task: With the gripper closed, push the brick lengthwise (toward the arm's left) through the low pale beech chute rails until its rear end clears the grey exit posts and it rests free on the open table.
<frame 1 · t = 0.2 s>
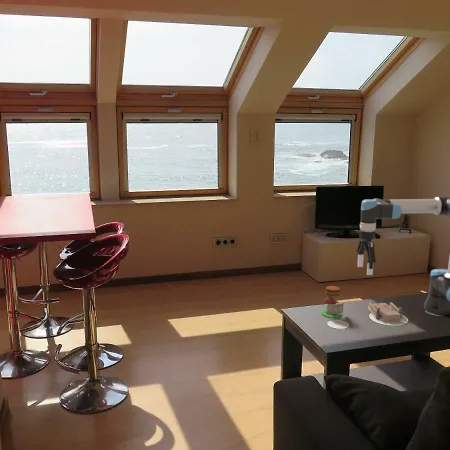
hand: (364, 270, 254), 28 cm above the table, fingers open, 13 cm apart
brick: (385, 316, 267), on the table
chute: (383, 313, 269), on the table
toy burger: (331, 314, 268), on the table
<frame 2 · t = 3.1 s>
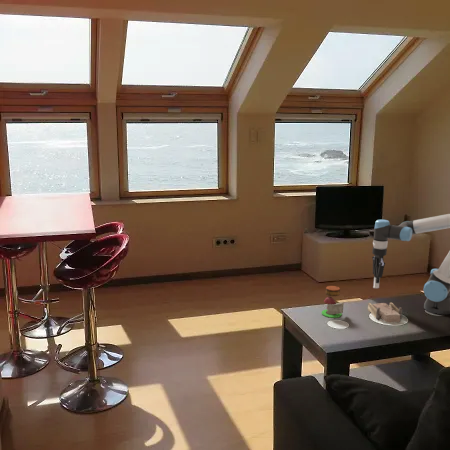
hand: (376, 287, 279), 11 cm above the table, fingers closed
nothing on the table moved.
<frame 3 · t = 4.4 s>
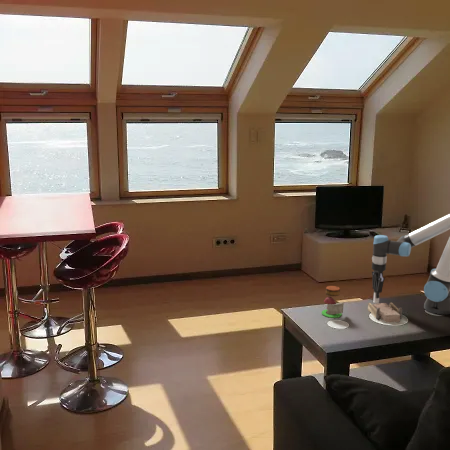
hand: (376, 302, 280), 2 cm above the table, fingers closed
nothing on the table moved.
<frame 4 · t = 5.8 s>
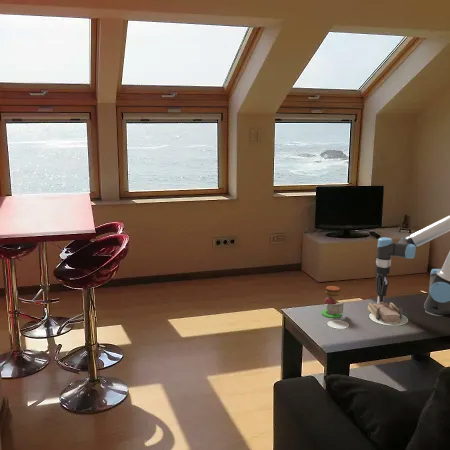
hand: (379, 306, 275), 2 cm above the table, fingers closed
brick: (385, 316, 266), on the table, touching gripper
everything else where it was.
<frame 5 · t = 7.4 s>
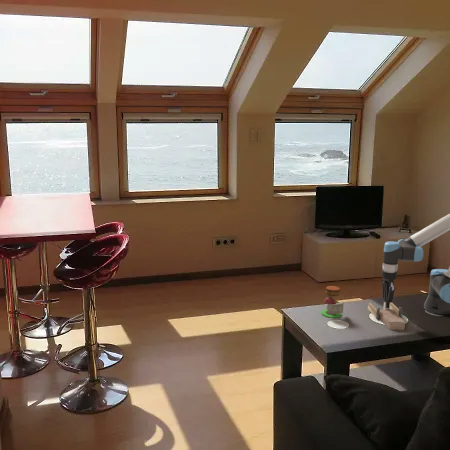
hand: (386, 312, 266), 2 cm above the table, fingers closed
brick: (391, 323, 258), on the table, touching gripper
everything else where it was.
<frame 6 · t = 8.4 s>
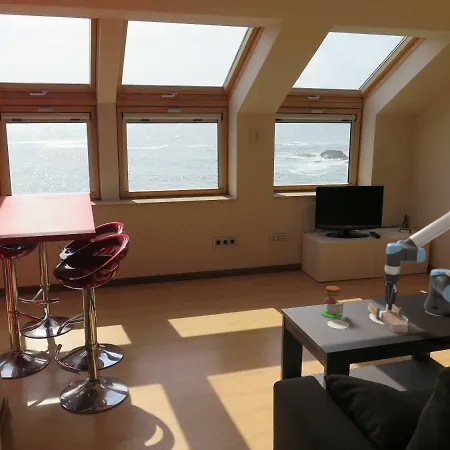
hand: (388, 314, 263), 2 cm above the table, fingers closed
brick: (394, 326, 255), on the table
everything else where it was.
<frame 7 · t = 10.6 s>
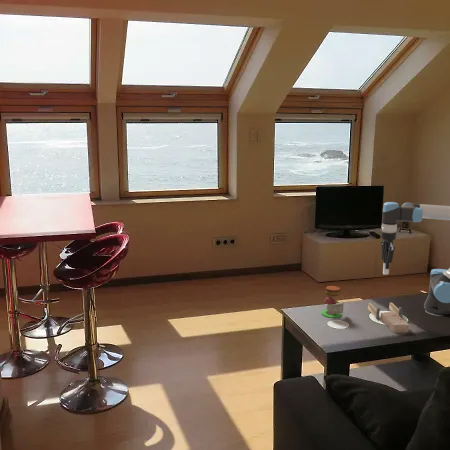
hand: (385, 274, 266), 22 cm above the table, fingers closed
nothing on the table moved.
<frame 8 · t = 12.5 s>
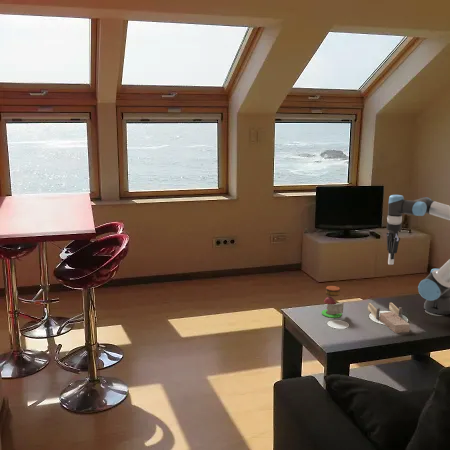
hand: (390, 264, 276), 24 cm above the table, fingers closed
nothing on the table moved.
at the end: brick inside the target area (3.0 cm from its centre), on the table; brick tilted 1°; brick moved 12.7 cm from its start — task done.
